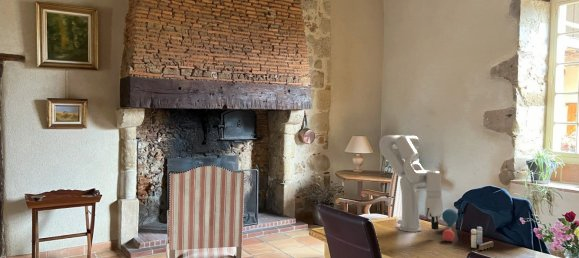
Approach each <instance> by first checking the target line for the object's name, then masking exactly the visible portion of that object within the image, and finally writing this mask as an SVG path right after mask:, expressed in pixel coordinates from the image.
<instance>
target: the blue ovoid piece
mask: <svg viewBox="0 0 579 258" xmlns="http://www.w3.org/2000/svg"><path fill="white" fill-rule="evenodd" d="M441 217H442V220H443V222H444V223H445V224H446V225H447V229H449V230H452V231H453V229H452V228H453V225H454V224H455V223H456V222H457V221H458V218H459V216H458V213H457V211H456V210H454V209H451V208H448V209H445V210H443V214H442V216H441Z"/></svg>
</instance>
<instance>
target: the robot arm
mask: <svg viewBox="0 0 579 258" xmlns="http://www.w3.org/2000/svg"><path fill="white" fill-rule="evenodd" d="M420 145H421V142H420V139H419V137H418V136H416V135H409V134H408V135H407V134H388V135H383V136H382V137H381V138H380V140H379V146H378V147H379V150H380V152H381V154H382V156H383V157H384V159H386V161H387V162H388V164H389V165H390V167H391V169H392V170H393V172H394V173H395V174H396V176H398V177H399V178H400V180H399V185H400V186H399V188H400V192H401V219H398V220H397V221H396V223H397V224H399V227H398V228H399V230H400V231H403V232H408V233H409V232H410V233H418V232H421V231H422V230H423V227H421V226H420V199H419V198H420V197H419V195H418V193H417V191H425V190H426V197H425V202H424V215H425V216H426V217H427V219H428V220H430V222H431V230H434V231H435V230H436V231H438V230H439V222H440V218H441V217H442V214H443V212H444V206H443V205H444V204H443V198H442V176H441V172H440V171H438V170H430V169H424V168H423V167H422V165H421V163H420V162H419V161H417V160H418V159H419V157H420V154H419V152H418V151H417V150H418V149H419V148H420ZM398 151H399V152H398Z"/></svg>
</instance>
